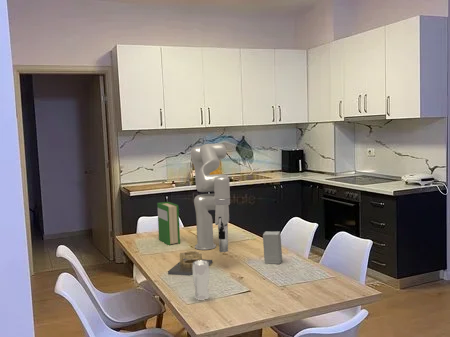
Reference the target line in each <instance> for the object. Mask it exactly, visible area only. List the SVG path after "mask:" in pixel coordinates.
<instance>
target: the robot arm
mask: <svg viewBox="0 0 450 337" xmlns="http://www.w3.org/2000/svg"><path fill="white" fill-rule="evenodd" d="M226 156H227V148H226V145H224V144H223V143H221V142H220V143H219V142H218V143H206V144H203V145H201V146H195V147H193V148H191V151H190V158H191V162H192V164H193V167H194V176H195V179H194V180H195V188H196V190H197V192H200V193H201V194H198V195H196V196H195V197H194V199H193V203H194V209H195V219H196V221H195V222H196V241H197V242H196V244H195V245H194V248H195V249H196V250H199V251H207V250H214V249H215V248H216V247H217V244H216V243H214V226H213V216H212V214H211V213H209V211H215V213H214V214H215V216H214V217H215V218H214V219H215V220H214V224H215V226H217V229H218V240H219V239H225V231H224V226H225V225H226V223H228V224H229V222H230V207H229V206H230V204H231V195H230V194H231V191H230V190H231V189H230V178H229V177H228V175H226V174H224V173H222V174H220V173H219V174H211V173H213V172H214V171H216V170H218V168H220V166H221V165H220V163H221V162H220V161H222V160H224V159H225V158H226ZM208 192H209V193H208ZM210 192H211V193H210ZM212 192H214V193H212ZM202 193H203V194H202ZM221 224H223V225H221ZM221 226H223V227H221ZM227 227H229V225H227Z"/></svg>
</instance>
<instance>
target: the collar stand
mask: <svg viewBox="0 0 450 337" xmlns="http://www.w3.org/2000/svg"><path fill="white" fill-rule="evenodd" d="M199 260H204V261H208V262H209V267H210V266H211V265H212V264H213V259H207V258H205V259H204V258H202V253H199V252H198V251H185V252H180V253H179V262H177V264H175V265H174V266H173V267H171V268H170V269H169V270H168V271H167V274H168V275H174V276H176V275H177V276H190V275H193V273H192V269H193V262H195V261H199Z"/></svg>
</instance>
